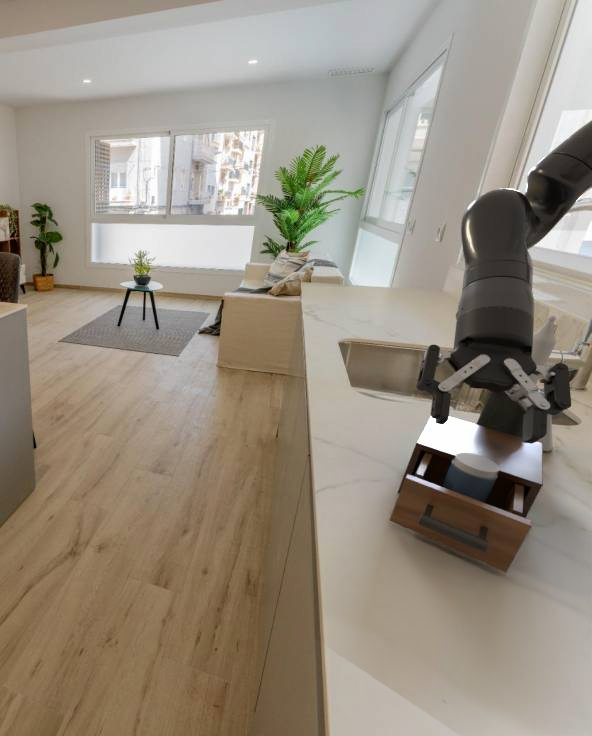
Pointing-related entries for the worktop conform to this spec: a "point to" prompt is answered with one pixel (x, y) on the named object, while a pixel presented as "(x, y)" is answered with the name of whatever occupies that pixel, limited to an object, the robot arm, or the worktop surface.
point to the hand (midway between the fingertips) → (484, 431)
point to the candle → (500, 406)
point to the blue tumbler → (471, 476)
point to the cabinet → (483, 452)
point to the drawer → (463, 514)
